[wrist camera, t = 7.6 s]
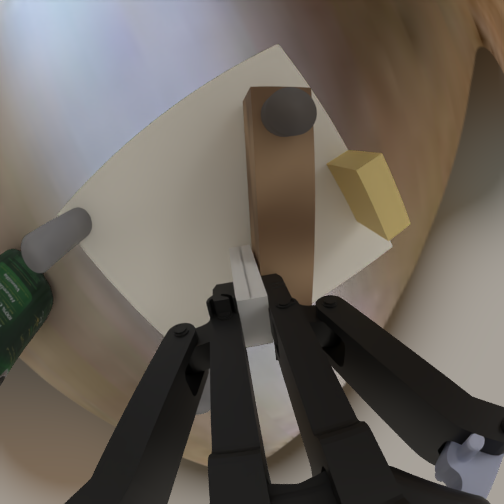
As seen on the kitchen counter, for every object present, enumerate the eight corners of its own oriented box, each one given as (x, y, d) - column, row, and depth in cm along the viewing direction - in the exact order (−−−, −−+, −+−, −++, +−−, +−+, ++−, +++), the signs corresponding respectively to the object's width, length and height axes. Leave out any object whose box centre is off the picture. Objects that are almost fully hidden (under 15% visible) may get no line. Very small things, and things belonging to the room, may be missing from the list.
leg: (242, 101, 15) (254, 78, 10) (289, 101, 16) (323, 80, 10) (254, 298, 21) (267, 353, 15) (293, 294, 21) (317, 345, 15)
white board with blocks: (273, 50, 16) (303, 6, 9) (383, 240, 22) (436, 278, 15) (65, 210, 18) (10, 242, 11) (200, 357, 25) (198, 420, 18)
